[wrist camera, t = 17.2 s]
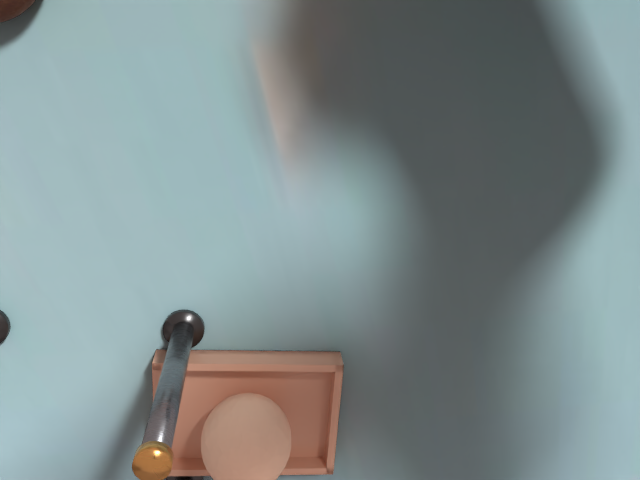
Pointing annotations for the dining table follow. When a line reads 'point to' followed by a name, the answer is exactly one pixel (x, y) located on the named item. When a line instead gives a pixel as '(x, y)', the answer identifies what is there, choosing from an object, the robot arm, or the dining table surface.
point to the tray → (267, 380)
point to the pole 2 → (184, 478)
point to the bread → (13, 8)
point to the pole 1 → (4, 326)
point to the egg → (246, 439)
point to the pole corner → (168, 397)
